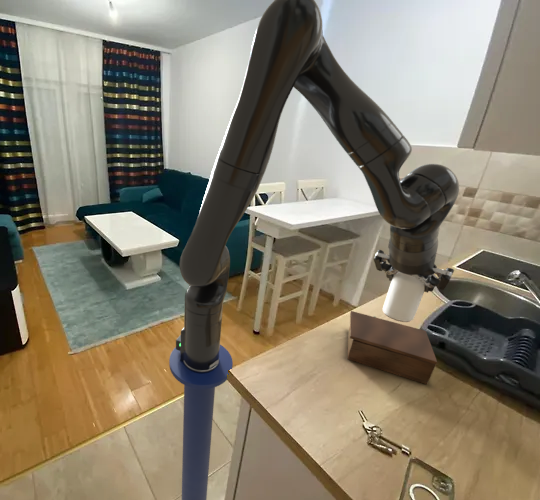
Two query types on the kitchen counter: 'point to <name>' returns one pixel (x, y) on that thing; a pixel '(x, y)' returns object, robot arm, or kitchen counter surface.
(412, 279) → the can
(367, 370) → the kitchen counter surface
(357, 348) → the tray box
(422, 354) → the tray cover
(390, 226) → the robot arm
